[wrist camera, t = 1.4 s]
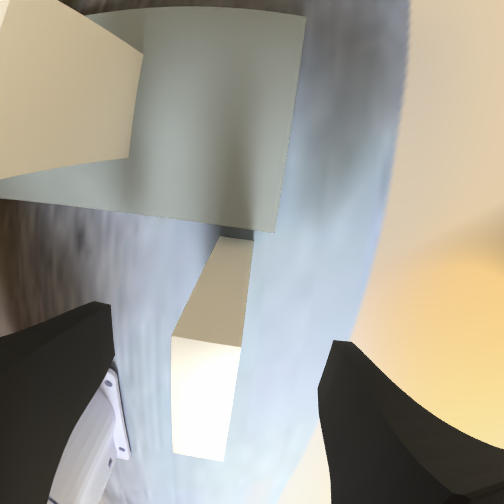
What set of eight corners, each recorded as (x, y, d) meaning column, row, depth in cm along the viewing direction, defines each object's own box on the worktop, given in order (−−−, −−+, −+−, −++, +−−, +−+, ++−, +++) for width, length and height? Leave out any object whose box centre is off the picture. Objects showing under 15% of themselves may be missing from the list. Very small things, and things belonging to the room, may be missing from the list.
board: (273, 226, 14) (274, 233, 13) (-57, 188, 14) (-69, 191, 13) (303, 26, 11) (306, 16, 10) (-45, 62, 11) (-57, 61, 10)
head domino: (240, 327, 16) (223, 461, 8) (210, 322, 16) (173, 452, 8) (253, 240, 14) (241, 347, 7) (219, 235, 14) (171, 335, 7)
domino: (128, 157, 12) (-20, 184, 4) (97, 156, 12) (-54, 182, 4) (143, 54, 11) (17, -22, 3) (111, 56, 11) (-24, -2, 3)
